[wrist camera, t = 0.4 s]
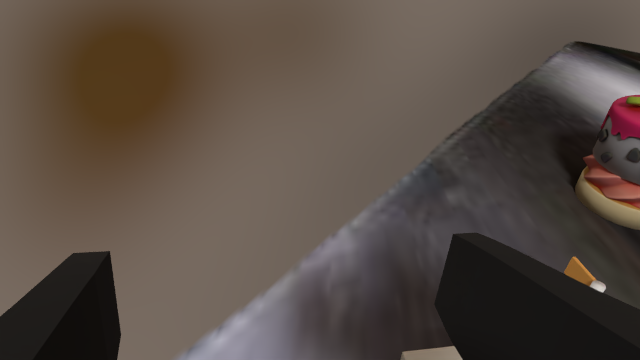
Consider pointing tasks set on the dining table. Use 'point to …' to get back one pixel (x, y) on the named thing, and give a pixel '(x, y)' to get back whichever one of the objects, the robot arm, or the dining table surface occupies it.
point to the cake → (615, 166)
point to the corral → (432, 354)
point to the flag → (583, 275)
